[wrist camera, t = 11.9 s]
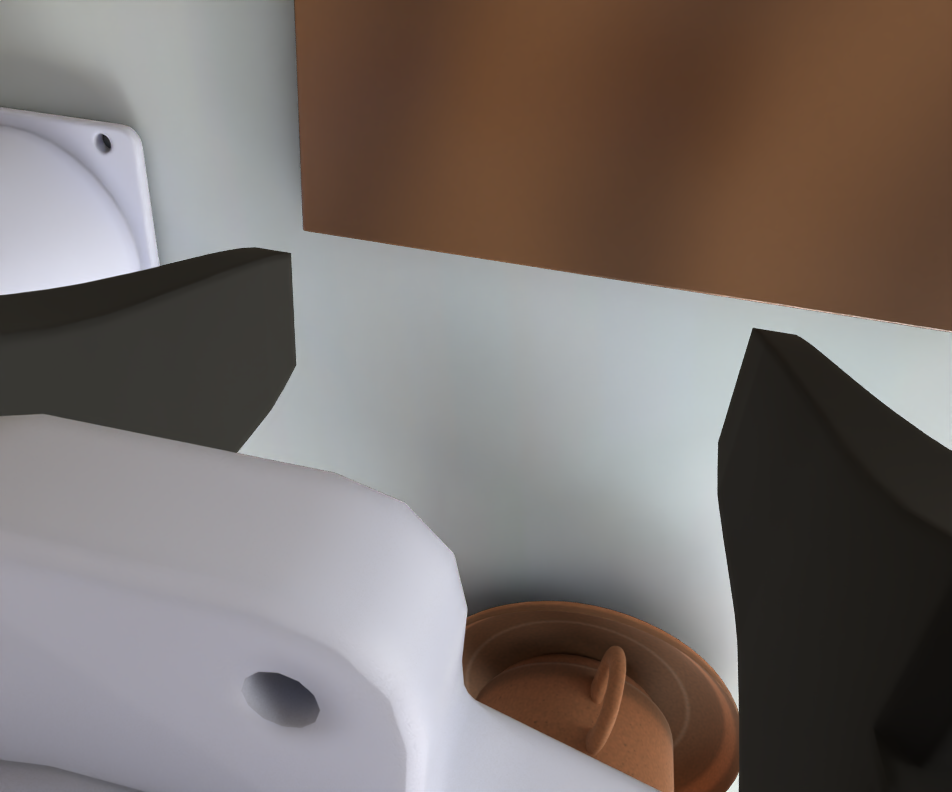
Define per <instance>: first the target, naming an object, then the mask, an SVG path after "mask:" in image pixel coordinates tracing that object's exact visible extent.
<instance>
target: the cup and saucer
mask: <svg viewBox="0 0 952 792" xmlns="http://www.w3.org/2000/svg"><path fill="white" fill-rule="evenodd" d="M462 668H463V680H464V686H465V688H466V690H467V692H468V693H469V694H470V695H471V696H472V697H473V698H474V699H475V700H476V701H478V702H480V703H482V704H485V705H487V706H489V707H491V708H493V709H495V710H497V711H499V712H501V713H503V714H505V715H507V716H509V717H511V718H513V719H515V720H517V721H519V722H521V723H523V724H525V725H527V726H529V727H531V728H533V729H535V730H537V731H539V732H541V733H543V734H545V735H547V736H549V737H552V738H554V739H556V740H558V741H560V742H562V743H564V744H566V745H568V746H570V747H572V748H574V749H576V750H578V751H580V752H582V753H584V754H586V755H588V756H590V757H592V758H594V759H596V760H598V761H600V762H602V763H604V764H606V765H608V766H610V767H612V768H614V769H617V770H619V771H621V772H623V773H625V774H627V775H629V776H631V777H633V778H635V779H637V780H639V781H641V782H643V783H645V784H647V785H649V786H651V787H653V788H655V789H657V790H659V791H661V792H726V791H727V790H728V789H729V788H730V786H731V785H732V783H733V782H734V781H735V779H736V777H737V775H738V773H739V712H738V709H737V706H736V704H735V702H734V700H733V698H732V695H731V693H730V691H729V690H728V688H727V687H726V685H725V684H724V682H723V681H722V679H721V678H720V677H719V675H718V674H717V673H716V672H715V671H714V669H713V668H712V667H711V666H710V665H709V664H708V663H707V662H706V661H705V660H704V659H703V658H702V657H701V656H699V655H698V654H697V653H696V652H695V651H693V650H692V649H691V648H690V647H688V646H687V645H685V644H684V643H682V642H681V641H680V640H678V639H677V638H675V637H673V636H671V635H670V634H668V633H666V632H665V631H663V630H661V629H659V628H657V627H655V626H653V625H651V624H649V623H647V622H644V621H642V620H639V619H637V618H634V617H632V616H629V615H627V614H624V613H621V612H617V611H614V610H611V609H607V608H603V607H599V606H594V605H589V604H583V603H576V602H566V601H531V602H521V603H513V604H507V605H503V606H498V607H494V608H491V609H487V610H484V611H481V612H478V613H476V614H474V615H471V616H469V617H467V619H466V628H465V637H464V647H463V656H462Z"/></svg>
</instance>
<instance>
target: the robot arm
mask: <svg viewBox="0 0 952 792" xmlns="http://www.w3.org/2000/svg"><path fill="white" fill-rule="evenodd" d="M103 134H104V135H106V136H107V138H108V139H109V140H110V143H111V149H110V148H108V147H107V146H106V145H105V144H104V141H103V139H102V138H103ZM295 366H296V350H295V329H294V308H293V288H292V267H291V253H287V252H280V251H274V250H268V249H262V248H256V247H254V248H240V249H233V250H227V251H222V252H217V253H212V254H208V255H204V256H199V257H195V258H191V259H187V260H183V261H179V262H174V263H170V264H166V265H162V266H160V263H159V256H158V250H157V243H156V236H155V229H154V222H153V215H152V208H151V201H150V194H149V187H148V180H147V173H146V166H145V159H144V152H143V145H142V142H141V139H140V137H139V136H138V134H137V133H136V131H134V130H133V129H132V128H131V127H129V126H126V125H123V124H117V123H110V122H102V121H95V120H88V119H81V118H74V117H67V116H60V115H53V114H46V113H39V112H32V111H25V110H18V109H11V108H4V107H0V792H661V791H659V790H657V789H655V788H653V787H651V786H649V785H647V784H645V783H643V782H641V781H639V780H637V779H635V778H633V777H631V776H629V775H627V774H625V773H623V772H621V771H619V770H617V769H614V768H612V767H610V766H608V765H606V764H604V763H602V762H600V761H598V760H596V759H594V758H592V757H590V756H588V755H586V754H584V753H582V752H580V751H578V750H576V749H574V748H572V747H570V746H568V745H566V744H564V743H562V742H560V741H558V740H556V739H554V738H552V737H549V736H547V735H545V734H543V733H541V732H539V731H537V730H535V729H533V728H531V727H529V726H527V725H525V724H523V723H521V722H519V721H517V720H515V719H513V718H511V717H509V716H507V715H505V714H503V713H501V712H499V711H497V710H495V709H493V708H491V707H489V706H487V705H485V704H482V703H480V702H478V701H476V700H475V699H474V698H473V697H472V696H471V695H470V694H469V693H468V692H467V690H466V688H465V686H464V680H463V668H462V656H463V647H464V637H465V628H466V619H467V609H468V608H467V604H466V600H465V596H464V592H463V588H462V584H461V580H460V576H459V572H458V567H457V563H456V559H455V555H454V553H453V552H452V551H451V550H450V549H449V548H448V547H447V546H446V545H445V544H444V543H443V542H442V541H441V540H440V539H439V537H438V536H437V535H436V534H435V533H434V532H433V531H432V530H431V529H430V528H429V527H428V526H427V525H426V524H425V523H424V522H423V521H422V520H421V519H420V518H419V517H418V516H417V514H416V513H415V512H414V511H413V510H412V509H411V508H410V507H409V506H408V505H407V504H406V503H405V502H403V501H400V500H398V499H395V498H393V497H391V496H388V495H386V494H384V493H381V492H379V491H377V490H374V489H372V488H370V487H367V486H365V485H362V484H360V483H358V482H355V481H353V480H351V479H348V478H346V477H344V476H341V475H339V474H336V473H334V472H329V471H324V470H319V469H314V468H309V467H304V466H299V465H294V464H289V463H284V462H279V461H274V460H269V459H264V458H259V457H254V456H249V455H244V454H239V453H237V452H238V451H239V450H240V448H241V447H242V446H243V445H244V443H245V442H246V441H247V440H248V438H249V437H250V436H251V435H252V433H253V432H254V431H255V430H256V428H257V427H258V426H259V425H260V423H261V422H262V421H263V420H264V418H265V417H266V416H267V414H268V413H269V412H270V411H271V409H272V408H273V406H274V404H275V402H276V401H277V399H278V397H279V396H280V394H281V392H282V391H283V389H284V387H285V385H286V383H287V381H288V380H289V378H290V376H291V374H292V372H293V370H294V368H295ZM718 502H719V510H720V517H721V524H722V531H723V538H724V545H725V552H726V559H727V565H728V572H729V579H730V585H731V592H732V599H733V606H734V612H735V622H736V632H737V645H738V687H739V792H952V451H951V450H949V449H948V448H946V447H945V446H943V445H941V444H940V443H938V442H937V441H935V440H934V439H932V438H931V437H929V436H928V435H926V434H925V433H923V432H922V431H921V430H919V429H918V428H916V427H915V426H914V425H912V424H911V423H909V422H908V421H907V420H905V419H904V418H902V417H901V416H900V415H898V414H897V413H895V412H894V411H893V410H891V409H890V408H889V407H887V406H886V405H885V404H884V403H882V402H881V401H880V400H878V399H877V398H876V397H874V396H873V395H872V394H871V393H869V392H868V391H867V390H866V389H864V388H863V387H862V386H861V385H860V384H858V383H857V382H856V381H855V380H853V379H852V378H851V377H850V376H849V375H847V374H846V373H845V372H844V371H843V370H841V369H840V368H839V367H838V366H837V365H835V364H834V363H833V362H832V361H831V360H830V359H828V358H827V357H826V356H825V355H823V354H822V353H821V352H820V351H819V350H817V349H816V348H815V347H813V346H812V345H811V344H810V343H808V342H807V341H805V340H804V339H802V338H801V337H799V336H797V335H793V334H787V333H781V332H775V331H769V330H763V329H756V328H753V329H752V332H751V336H750V339H749V342H748V346H747V349H746V352H745V355H744V359H743V362H742V365H741V369H740V372H739V375H738V379H737V382H736V385H735V389H734V392H733V395H732V399H731V402H730V405H729V408H728V412H727V415H726V418H725V422H724V425H723V428H722V432H721V435H720V438H719V442H718Z"/></svg>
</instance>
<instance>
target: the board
mask: <svg viewBox="0 0 952 792" xmlns="http://www.w3.org/2000/svg"><path fill="white" fill-rule="evenodd" d="M294 9H295V34H296V60H297V86H298V112H299V138H300V164H301V190H302V216H303V230H304V231H309V232H316V233H322V234H328V235H335V236H341V237H347V238H354V239H360V240H366V241H373V242H379V243H386V244H392V245H398V246H405V247H411V248H417V249H424V250H430V251H436V252H443V253H449V254H456V255H462V256H468V257H475V258H481V259H487V260H494V261H500V262H506V263H513V264H519V265H526V266H532V267H538V268H545V269H551V270H557V271H564V272H570V273H576V274H583V275H589V276H596V277H602V278H608V279H615V280H621V281H627V282H634V283H640V284H646V285H653V286H659V287H665V288H672V289H678V290H685V291H691V292H697V293H704V294H710V295H716V296H723V297H729V298H735V299H742V300H748V301H755V302H761V303H767V304H774V305H780V306H786V307H793V308H799V309H805V310H812V311H818V312H825V313H831V314H837V315H844V316H850V317H856V318H863V319H869V320H875V321H882V322H888V323H895V324H901V325H907V326H914V327H920V328H926V329H933V330H939V331H945V332H952V0H294Z"/></svg>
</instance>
